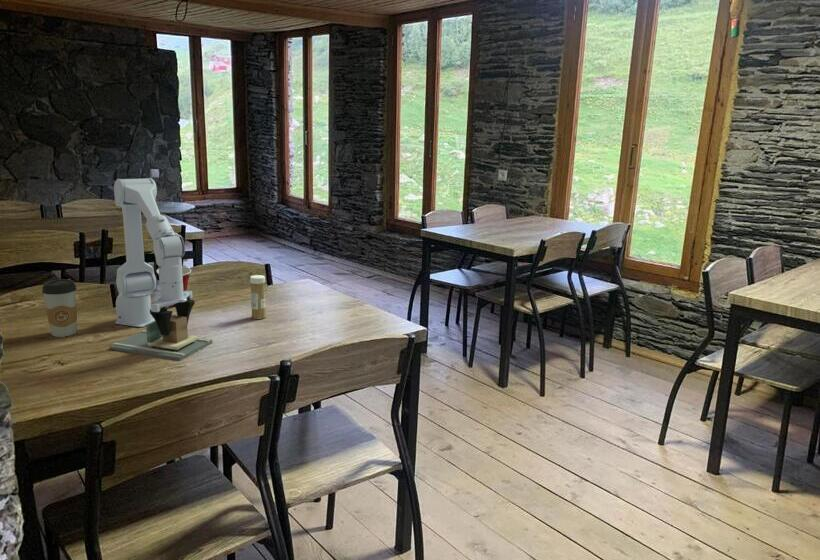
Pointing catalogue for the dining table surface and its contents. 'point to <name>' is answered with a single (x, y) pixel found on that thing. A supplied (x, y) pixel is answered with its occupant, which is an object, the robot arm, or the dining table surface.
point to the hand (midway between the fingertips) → (174, 330)
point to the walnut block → (177, 329)
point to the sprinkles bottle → (258, 296)
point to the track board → (141, 347)
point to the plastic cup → (185, 275)
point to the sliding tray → (157, 339)
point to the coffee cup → (61, 306)
